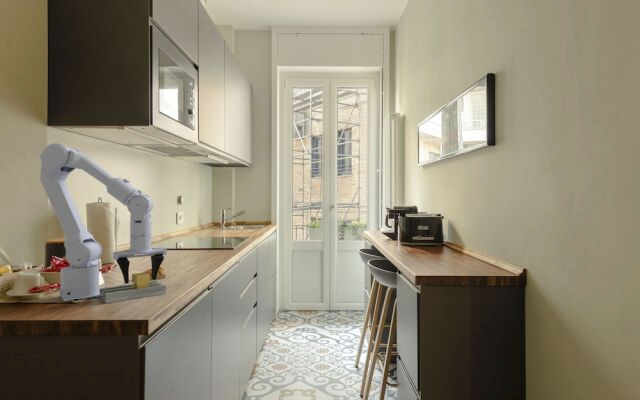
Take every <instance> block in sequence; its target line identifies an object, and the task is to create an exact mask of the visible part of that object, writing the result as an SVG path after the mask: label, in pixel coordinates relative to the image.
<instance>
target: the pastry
mask: <svg viewBox="0 0 640 400" xmlns="http://www.w3.org/2000/svg"><path fill="white" fill-rule="evenodd" d="M143 272H145V273H147V274H149V275H150V282H151V281H154V280H153V279H152V277H151V274H152V268H150V269H146V270H145V271H143ZM143 272H141V273H143ZM166 277H167V274H166V271H165V268H163V267H162V266H160V268H159V270H158V273H157V278H156V280H155V281H158V280H163V279H165V278H166Z"/></svg>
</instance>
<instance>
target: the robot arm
mask: <svg viewBox="0 0 640 400" xmlns="http://www.w3.org/2000/svg"><path fill="white" fill-rule="evenodd" d="M39 158H40V160H41V167H40V176H39V178H40V183H41V184H42V187H43V188H44V192H45V194H46V196H47V198H48V200H49V203H50V205H51V207H52V209H53V211H54V214H55V215H56V217H57V220H58V222H59V225H60V227H61V229H62V232H63V234H64V236H65V239H64V243H63V246H64V248H65V260H66V262H67V263H68V264H69V266H66V267H61V268H60V277H59V278H60V279H59V280H60V281H59V283H60V285H59V286H60V289H59V297H60V296H61V297H60V298H61V300H62V301H63V302H69V301H70V300H71V301H75V300H74V299H78V300H84V299H91V298H98V297H99V288H100V262H99V259H100V258H101V257H102V254H103V247H102V245H101V244H100V243H99V242H98V241H96V240H95V238H94V235H93V234H91V232H89V231H88V230H87V228H86V226H85V224H84V222H83V220H82V218H81V217H82V216H81V215H80V213H79V210H78V208H77V206H76V204H75V202H74V199H73V196H72V194H71V192H70V190H69V188H68V186H67V183H66V179H68V177H69V175H70V174H71V173H72V172H73V171H74V170H76V169H77V170H78V169H79V170H83V171H84V172H85V173H87V175H90V176H91V177H92V178H94V179H95V180H97V181H99V183H101V184H102V185H104V186H105V187H106V192H107V194H109V196H111V197H113V198H114V199H116V200H117V201H118V202H120V203H121V204H122V205H124V206H126V208H127V210H128V212H129V213H130V215H129V216H130V218H129V219H130V220H129V249H128V250H120V251H112V260H115V261H116V263H117V264H118V267H119V269H120V271H121V273H122V277H123V278H122V279H123V283H124V284H125V285H128V284H129V282H130V274H129V273H130V271H129V270H130V260H129V258H132V259H133V258H142V257H150V261H151V269H152V274H151V277H152V279H153V280H152V281H157V280H156V278H157V273H158V270H159V268H160V267H161V265H162V263H163V262H164V260H165V256H166V255H167V250H168V249H167V248H166V247H158V248H152V210H153V209H154V205H155V204H154V201H153V199H152V198H151V197H150V196H149V195H147V194H143V190H141V189H138V188H136V187H135V186H133V185H132V184H130V180H129V179H127V178H122V177H114V176H113V175H112V174H110V173H109V172H108V171H107V170H105V169H104V168H103V167H102V166H101V165H99V164H98V163H97V162H96V161H95V160H93V159H92V158H90V156H88V155H87V154H85V153H84V152H81V151H80V150H78V149H77V148H75V147H71V146H66V145H62V144H60V143H50V144H47V146H45V148H44V150H43V151H42V152H41V154H40V156H39ZM99 298H100V297H99Z"/></svg>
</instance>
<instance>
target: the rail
mask: <svg viewBox="0 0 640 400" xmlns="http://www.w3.org/2000/svg"><path fill="white" fill-rule="evenodd" d="M166 294H167V285H166V284H162V282H159V281H158V280H151V281H150V283H148V287H145V288H138V289H137V286H134V283H130V284H129V283H128V284H121V285H115V286H114V285H113V286H108V287H107V286H106V287H99V299H101V301H103V302H104V303H105V304H110V303H111V304H112V303H116V302H117V303H118V302H123V301H128V300H136V299H141V298H148V297H154V296H160V295H166Z"/></svg>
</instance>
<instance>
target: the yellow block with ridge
mask: <svg viewBox="0 0 640 400" xmlns="http://www.w3.org/2000/svg"><path fill="white" fill-rule="evenodd" d="M150 282H151V281H150V275H149V274H147V273H145V271H143V273H142V272H136V273H135V272H134V273H131V283H132V284H134V286H137V289H138V288H145V287H148V283H150Z"/></svg>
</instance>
